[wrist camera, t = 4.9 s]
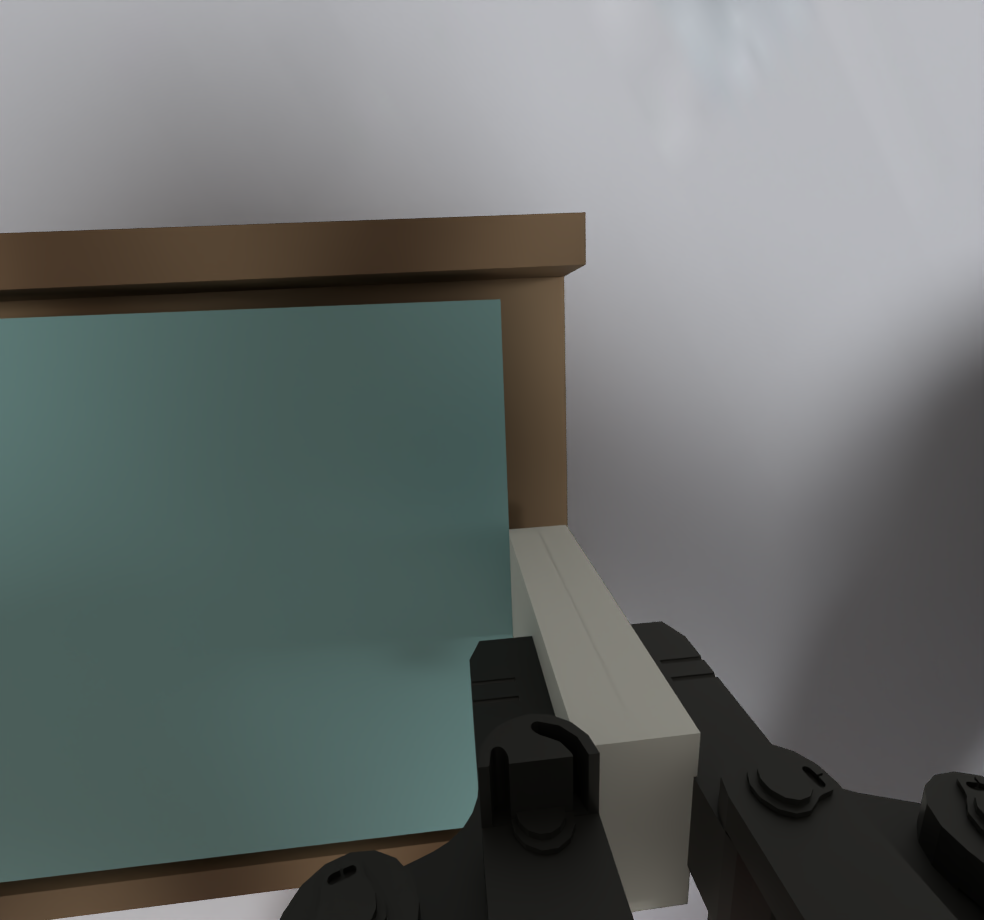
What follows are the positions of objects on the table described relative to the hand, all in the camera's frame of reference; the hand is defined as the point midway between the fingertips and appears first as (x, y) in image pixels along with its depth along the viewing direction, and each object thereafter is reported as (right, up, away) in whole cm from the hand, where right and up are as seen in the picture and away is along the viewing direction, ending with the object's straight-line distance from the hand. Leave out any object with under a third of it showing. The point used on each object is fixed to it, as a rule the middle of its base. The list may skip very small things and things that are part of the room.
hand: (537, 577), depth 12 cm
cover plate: (-10, -1, +1) cm, 10 cm away
